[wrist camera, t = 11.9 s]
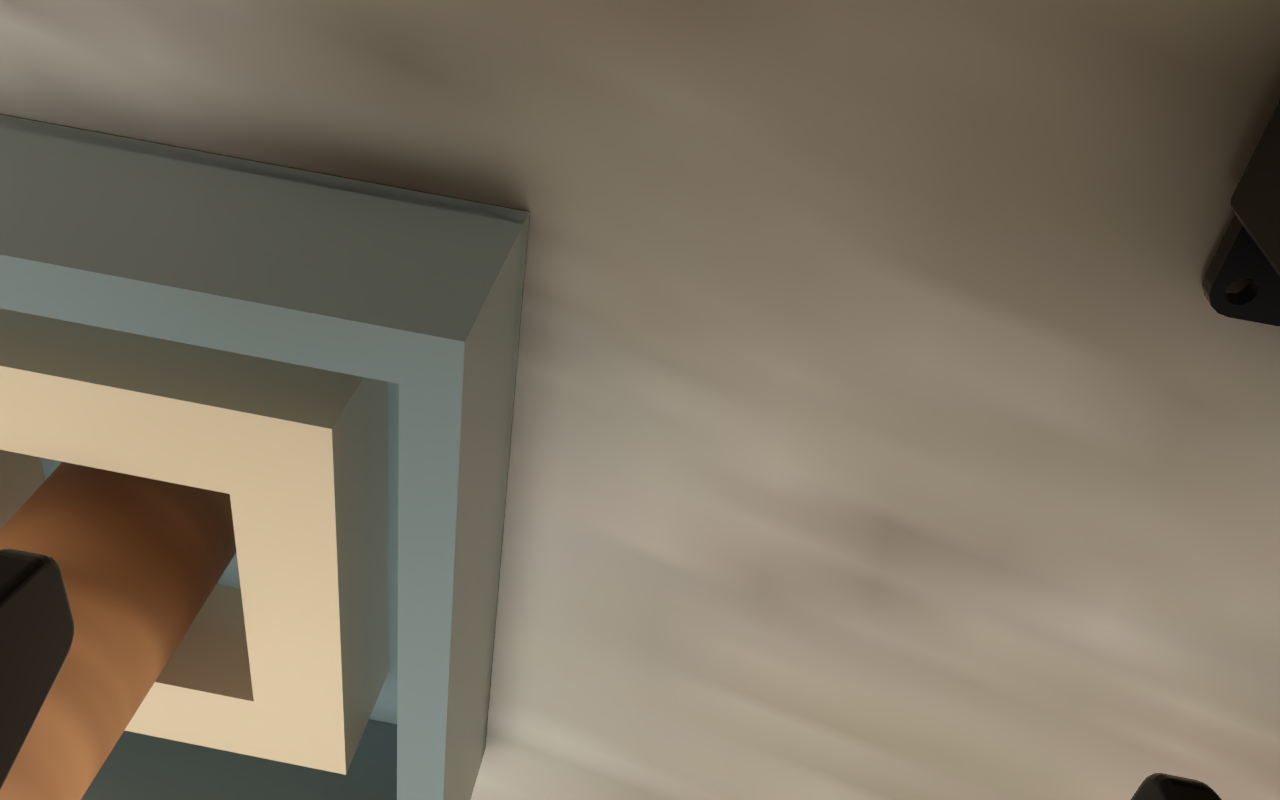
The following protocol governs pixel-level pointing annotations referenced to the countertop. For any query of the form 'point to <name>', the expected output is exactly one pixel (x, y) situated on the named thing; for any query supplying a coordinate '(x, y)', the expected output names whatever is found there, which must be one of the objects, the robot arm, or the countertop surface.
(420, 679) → the open box
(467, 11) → the countertop surface
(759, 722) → the countertop surface
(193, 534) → the peg
